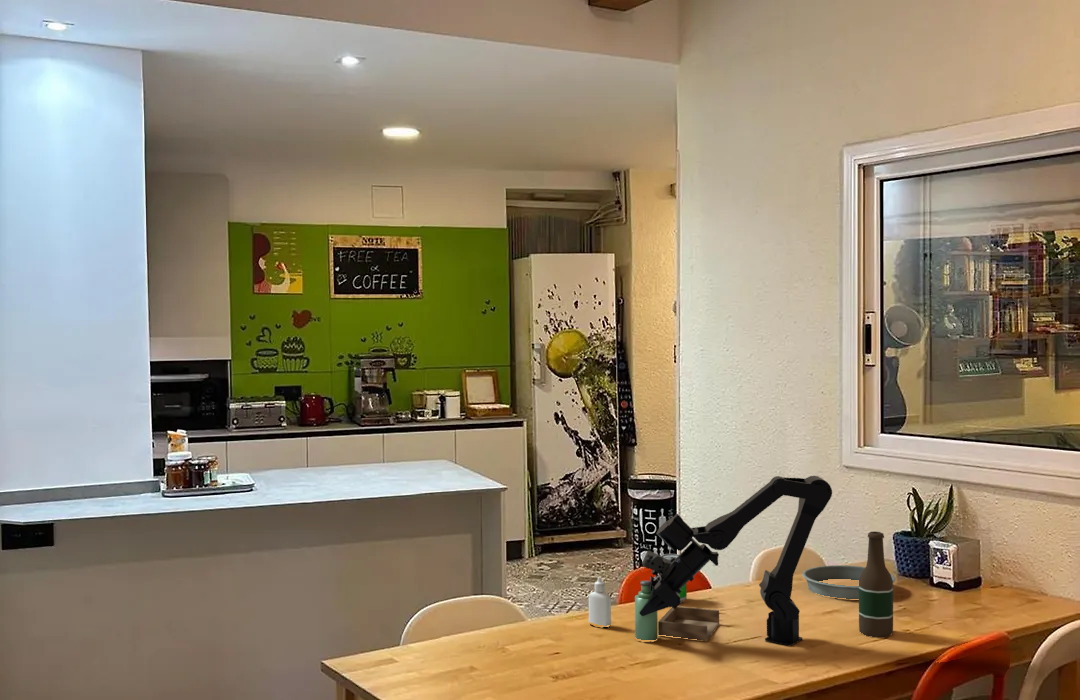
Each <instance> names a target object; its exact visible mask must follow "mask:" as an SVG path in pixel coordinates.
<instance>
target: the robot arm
mask: <svg viewBox="0 0 1080 700" xmlns="http://www.w3.org/2000/svg"><path fill="white" fill-rule="evenodd" d="M783 496H785V497H787V496H788V497H793V498H797V499H798V507H797V513H796V516H795V518H794V520H793V523H792V525H791V527H790V529H789V532H788V535H787V538H786V540H785V543H784V544H783V548H782V550H781V552H780V556H779V558H778V561H777V563H776V566H775V567H774V568H773V569H772V570H771V571H768V570H767V569H765V570H764V573H763V577H762V580H761V581H760V583H759V584H758V586H759V587H760V590H759V592H760V593H759V594H760V596H761V599H762V600H763V602H764V604H765V605H766V607H767V608H768V609H769V610H771V611H770V612H768V617H767V618H766V636H767V637H765V638H764V641H766V642H771V643H774V644H779V645H783V646H788V647H790V646H792V645H794V644H797V643H799V642H800V641H803V637H801V636H800V612H801V611H800V609H799V607H798V606H797V604H796V603H795V602H794V600H793V598H791V596H792V591H793V583H794V582H793V580H794V574H795V571H796V569H797V566H798V565H799V561H800V558H801V556H802V554H803V551H804V549H805V546H806V544H807V541H808V538H809V537H810V534H811V531H812V529H813V526H814V524H815V521H816V520H817V518H818V516H820V515H821V513H822V512H823V511H824V510H825V508H826V507H827V505H828V503H829V502H830V501H831V499H832V497H833V490H832V487H831V484H830V483H828V481H827V480H825V479H824V478H822V477H821V476H818V475H810V476H808V477H805V478H801V477H783V476H780V475H778V476H773V477H772V478H771V479H770V481H769V482H767V483H766V484H765V485H764V486H763V487H761V488H760V489H759V490H757V491H756V492H754V493H753V494H752V495H751V496H750V497H749V498H747V499H746V500H745V501H744V502H742V503H741V504H740V505H739V506H737V507H736V508H735V509H734V510H732V511H730V512H729V513H727V514H723V515H721V516H719V517H717V518H715V519H713V520H711V521H709V522H708V523H707V524H706V525H705V526H703V525H702V526H696V527H695V526H694V527H690V525H688V523H687V522H686V521H684V519H683V518H682V517H681V516H680V514H678V513H676V514H674V516H672V517H670V518H669V519H668V520H666V521H664V523H662V524H661V525H660V526H659V528H658V529H657V532H656V535H657V536H658V537H659V538H660V539H661V540H662V541H664V543H665V544H666V545H667V546H668V547H669V548H670V549H671V550H672V551H675V552H676V551H681V553H680V554H678V555H679V556H678V557H677V558H676V557H672V558H671V559H670V560H668V559H666V558H664V557H662V555H660V554H658V553H656V552H653V551H651V550H647V551H646V554H645V555H644V557H643V560H642V561H641V563H642V566H643V567H644V568H646V569H647V570H651V571H650V573H651V574H652V575H650V581H651V582H652V585H651V591H652V596H651V597H650V598H649V600H648V601H647V602H646V604H645V605H644V607H643V608H642V609H641V611H640V612H639V613H640V615H641V616H645V615H648V614H650V613H653V612H656V611H657V612H659V611H662V610H665V609H667V608H674V609H675V608H676V607H677V606H679V605H681V603H680V595H679V593H680V592H681V588H682V587H683V586H684V585H685V584H686V583H687V584H688V582H689V581H690V582H693V580H694V579H695V576H696V575H697V574H698V573H699V571H700V570H702V569H703V568H704V567H705V566H706V565H707V564H708V563H709V562H710V561H711V563H712V564H713V565H714V566H717V567H718V566H719V552H718V551H723V550H725V549H726V548H728V546H729V545H731V543H732V542H733V541H734V540H735V539H736V537H738V535H739V533H740V532H741V531H742V529H743V528H744V527H745V526H746V525H748V523H750V522H751V521H752V520H754V519H755V518H756V517H758V516H759V514H761V513H762V512H763V511H765V510H766V509H768V508H769V507H770V506H771V505H772V504H774V503H775V502H776V501H777V500H779V499H780V498H782V497H783ZM707 545H708V546H707ZM709 547H710V548H711V549H712V550H716V551H712V550H711V549H710V548H709ZM653 576H654V577H653Z"/></svg>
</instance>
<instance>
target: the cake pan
mask: <svg viewBox="0 0 1080 700" xmlns="http://www.w3.org/2000/svg"><path fill="white" fill-rule="evenodd" d="M865 567H866V566H859V565H848V564H847V565H846V564H845V565H843V564H841V565H839V564H837V565H836V564H833V565H822V566H819V565H818V566H815V567H811V568H807V569H805V570H804V571H803V572H802V574H801V575H802V578H803V579H805V580H806V583H807V587H808V590H809V591H810V592H811V591H812V592H811V593H813V592H814V593H817V594H820V595H824V596H830V597H837V598H846V599H859V586H845V585H835V584H828V583H823V582H819V581H823V580H828V579H851V580H859V579H860V576H861V573H862V572H863V570H864V569H865ZM890 575H891V577H892V580H893V584H894V583H895V582H896V577H895V576H894V575H893V574H892V573H890ZM814 593H813V594H814ZM817 594H816V595H817ZM820 595H819V596H820Z"/></svg>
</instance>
